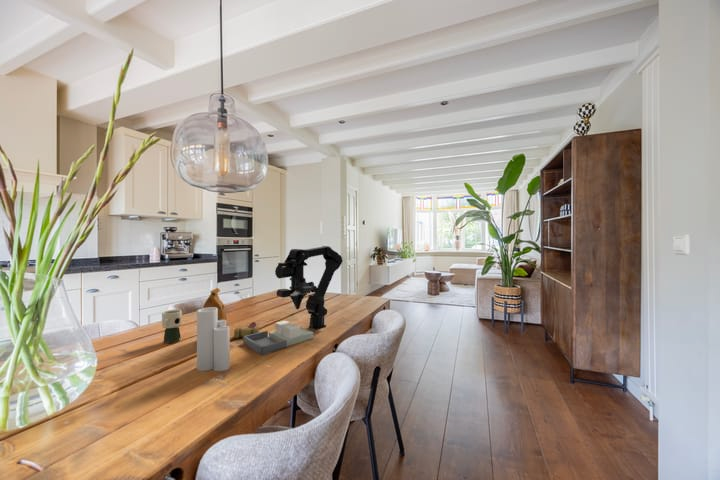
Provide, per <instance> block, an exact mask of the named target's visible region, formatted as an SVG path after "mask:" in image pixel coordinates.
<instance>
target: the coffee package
mask: <svg viewBox="0 0 720 480" xmlns="http://www.w3.org/2000/svg"><path fill="white" fill-rule="evenodd" d="M220 292H221V289H220V288H218V287H216V288H214V289H213V290H210V295H209V296H208V298H207V299H206V300H205V302H204V305H203V306H202V308H209V307H215V308H217V310H218V320H226V324H227V312H226V307H225V304H224V302H223V301H222V300H221V299H220V297H219V293H220Z"/></svg>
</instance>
